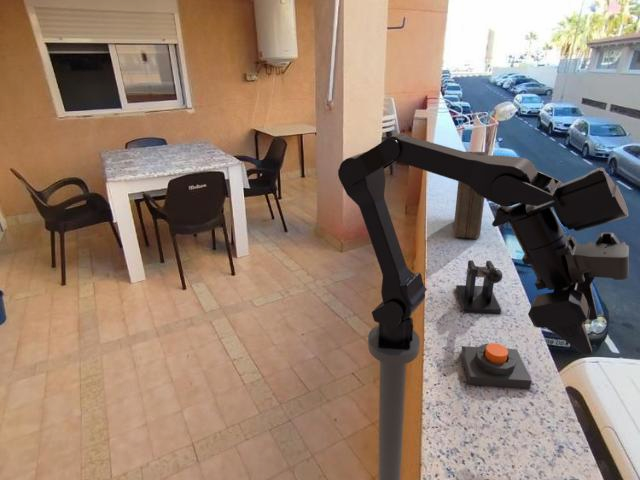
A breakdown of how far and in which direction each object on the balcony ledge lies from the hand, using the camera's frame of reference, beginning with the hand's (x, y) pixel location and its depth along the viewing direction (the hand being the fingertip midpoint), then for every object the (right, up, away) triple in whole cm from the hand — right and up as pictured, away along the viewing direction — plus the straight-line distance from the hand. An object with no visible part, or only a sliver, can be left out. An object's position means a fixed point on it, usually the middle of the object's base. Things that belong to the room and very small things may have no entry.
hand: (591, 335), depth 54 cm
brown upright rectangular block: (+11, +17, +74) cm, 77 cm away
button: (-7, -8, +14) cm, 17 cm away
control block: (-7, -10, +15) cm, 20 cm away
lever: (-3, +5, +27) cm, 28 cm away
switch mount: (-2, -1, +35) cm, 35 cm away
